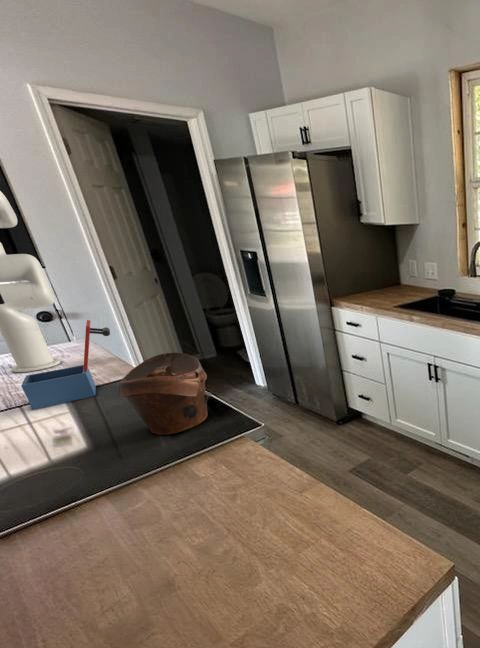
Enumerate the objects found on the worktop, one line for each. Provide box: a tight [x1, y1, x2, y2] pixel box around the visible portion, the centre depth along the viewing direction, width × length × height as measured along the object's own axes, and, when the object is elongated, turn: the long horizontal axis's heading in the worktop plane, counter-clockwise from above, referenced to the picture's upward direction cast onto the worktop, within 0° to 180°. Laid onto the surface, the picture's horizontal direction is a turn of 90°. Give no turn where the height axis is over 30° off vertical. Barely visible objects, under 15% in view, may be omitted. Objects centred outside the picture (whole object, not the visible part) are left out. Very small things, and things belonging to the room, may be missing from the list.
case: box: [118, 352, 213, 436], centre depth 108 cm, size 18×20×18 cm
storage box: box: [20, 364, 97, 410], centre depth 129 cm, size 14×12×8 cm
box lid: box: [83, 319, 111, 372], centre depth 132 cm, size 14×12×5 cm
